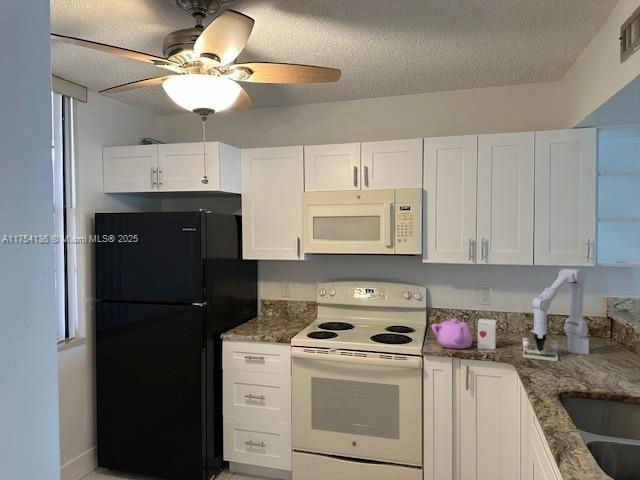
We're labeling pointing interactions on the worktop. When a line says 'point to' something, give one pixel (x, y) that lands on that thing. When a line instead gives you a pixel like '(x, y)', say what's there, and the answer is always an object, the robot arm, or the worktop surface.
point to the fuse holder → (543, 350)
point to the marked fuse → (539, 352)
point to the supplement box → (486, 334)
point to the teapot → (453, 334)
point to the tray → (540, 356)
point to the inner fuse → (554, 346)
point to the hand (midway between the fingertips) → (540, 349)
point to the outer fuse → (526, 343)
